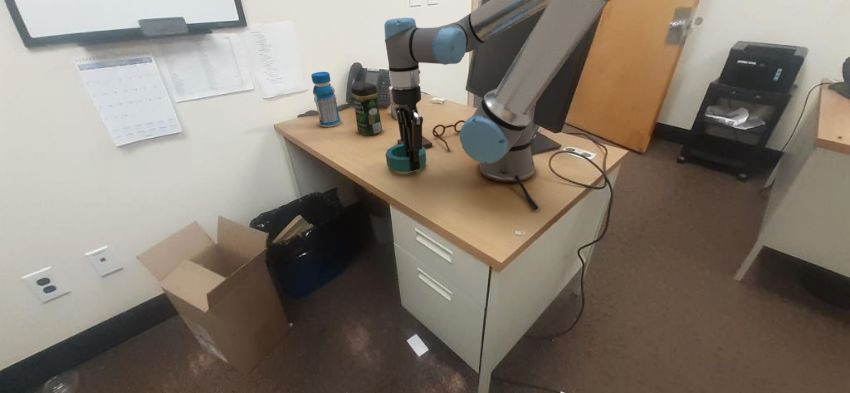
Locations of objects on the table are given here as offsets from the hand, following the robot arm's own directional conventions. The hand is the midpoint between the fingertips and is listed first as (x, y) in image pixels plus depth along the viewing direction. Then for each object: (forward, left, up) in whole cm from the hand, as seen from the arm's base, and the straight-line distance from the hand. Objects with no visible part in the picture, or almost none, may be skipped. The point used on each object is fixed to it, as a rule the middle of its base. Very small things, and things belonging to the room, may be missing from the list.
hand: (413, 168), depth 101 cm
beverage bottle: (+57, +11, -2) cm, 59 cm away
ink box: (+49, -18, -2) cm, 52 cm away
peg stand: (+18, -9, -2) cm, 20 cm away
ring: (+5, 0, 0) cm, 5 cm away
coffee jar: (+39, 0, -2) cm, 39 cm away
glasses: (+13, -23, -2) cm, 26 cm away
